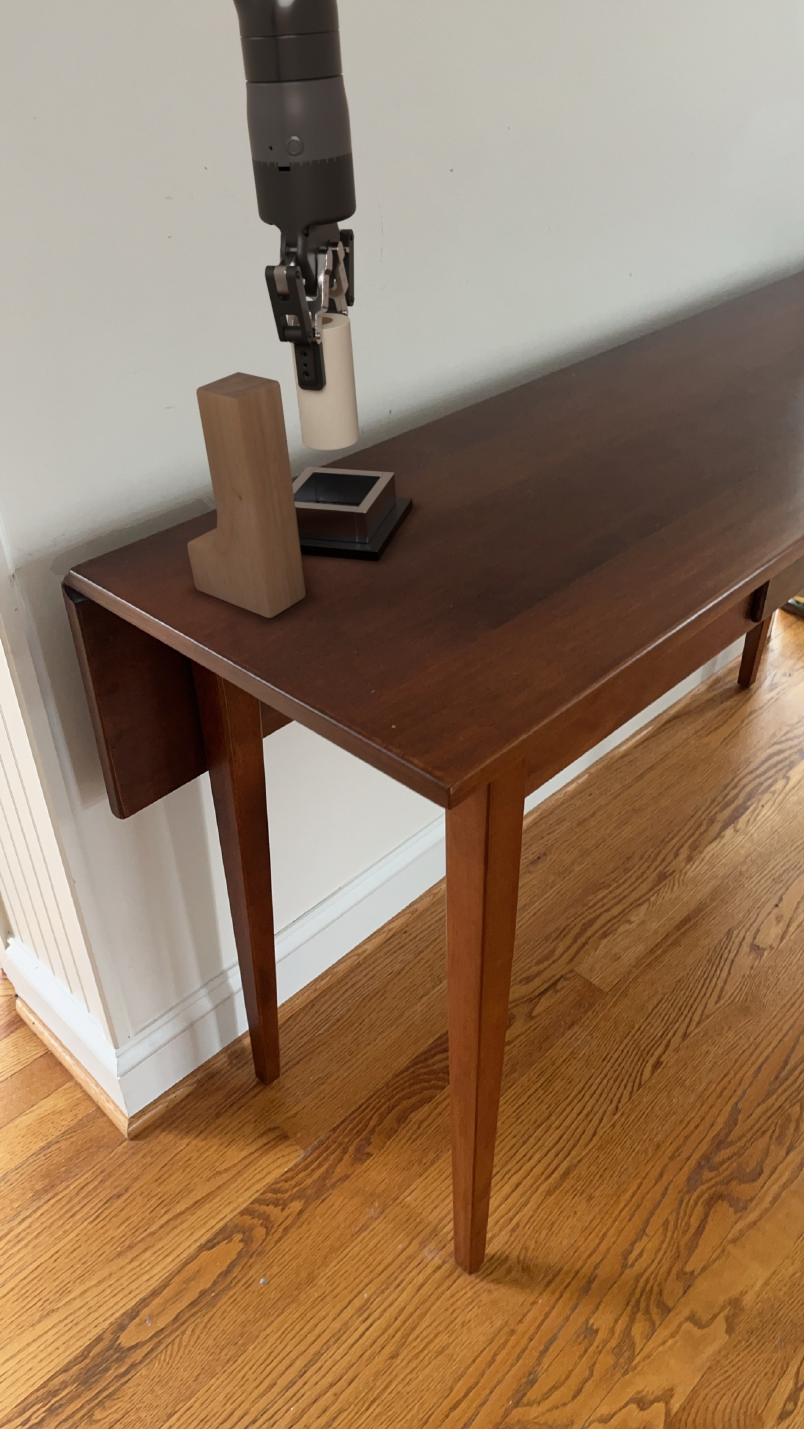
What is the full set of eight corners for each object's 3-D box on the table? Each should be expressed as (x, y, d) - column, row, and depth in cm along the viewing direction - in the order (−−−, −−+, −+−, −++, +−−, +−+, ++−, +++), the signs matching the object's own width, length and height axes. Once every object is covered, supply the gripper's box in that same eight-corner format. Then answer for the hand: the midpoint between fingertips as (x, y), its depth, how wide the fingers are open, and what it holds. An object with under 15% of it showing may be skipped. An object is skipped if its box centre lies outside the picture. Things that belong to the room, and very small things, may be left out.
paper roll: (294, 448, 88) (279, 328, 82) (314, 427, 92) (301, 311, 86) (348, 452, 87) (337, 330, 81) (367, 430, 90) (358, 313, 85)
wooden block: (193, 590, 86) (151, 377, 76) (232, 569, 89) (197, 360, 78) (270, 621, 81) (236, 398, 71) (308, 597, 84) (281, 379, 74)
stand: (261, 550, 92) (254, 509, 89) (304, 499, 100) (300, 460, 98) (378, 561, 89) (374, 519, 86) (412, 507, 97) (410, 467, 95)
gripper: (289, 136, 82) (312, 350, 93) (214, 166, 71) (249, 405, 82) (378, 134, 81) (391, 352, 91) (315, 164, 70) (338, 409, 80)
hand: (324, 376), depth 86 cm, fingers closed on paper roll, 5 cm apart
